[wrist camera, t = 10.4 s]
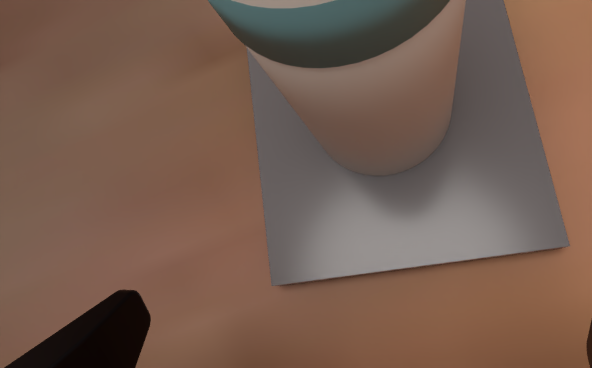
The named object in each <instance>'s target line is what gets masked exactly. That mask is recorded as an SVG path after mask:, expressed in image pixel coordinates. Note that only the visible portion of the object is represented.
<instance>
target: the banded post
mask: <svg viewBox="0 0 592 368" xmlns="http://www.w3.org/2000/svg"><path fill="white" fill-rule="evenodd" d="M208 1H209V3H210V4H211V5H212V7H213V8H214V9H215V10H216V12H217V13H218V14H219V16H220V17H221V18H222V20H223V21H224V22H225V23H226V25H227V26H228V27H229V29H230V30H231V31H232V32H233V34H234V35H235V36H236V37H237V38H238V39H239V40H240V41H241V42H242V43H243V44H244V45H245V46H246V47H247V48H248V50H249V51H250V52H251V54H252V55H253V56H254V58H255V59H256V60H257V62H258V63H259V64H260V66H261V67H262V68H263V70H264V71H265V72H266V73H267V75H268V76H269V77H270V79H271V80H272V81H273V83H274V84H275V85H276V87H277V88H278V89H279V91H280V92H281V93H282V95H283V96H284V97H285V98H286V100H287V101H288V102H289V104H290V105H291V106H292V108H293V109H294V110H295V112H296V113H297V114H298V116H299V117H300V118H301V120H302V121H303V122H304V123H305V125H306V126H307V127H308V129H309V130H310V131H311V133H312V134H313V135H314V137H315V138H316V139H317V141H318V142H319V143H320V145H321V146H322V147H323V149H324V150H325V151H326V152H327V154H328V155H329V156H330V157H331V158H332V159H333V160H334V161H336V162H337V163H338V164H340V165H341V166H343V167H345V168H346V169H348V170H351V171H353V172H356V173H360V174H364V175H371V176H385V175H392V174H396V173H400V172H403V171H406V170H408V169H410V168H412V167H414V166H416V165H418V164H420V163H421V162H422V161H424V160H425V159H426V158H427V157H429V156H430V155H431V154H432V153H433V152H434V151H435V149H436V148H437V147H438V146H439V144H440V143H441V141H442V140H443V138H444V136H445V134H446V132H447V129H448V127H449V123H450V119H451V112H452V104H453V97H454V89H455V81H456V73H457V65H458V57H459V50H460V42H461V34H462V26H463V18H464V10H465V2H466V0H208Z"/></svg>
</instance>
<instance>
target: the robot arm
mask: <svg viewBox="0 0 592 368" xmlns="http://www.w3.org/2000/svg"><path fill="white" fill-rule="evenodd" d="M150 322H151V318H150V314H149V311H148V310H147V308H146V306H145V304H144V302H143V300H142V298H141V296H140V294H139V293H138V292H137V291H135V290H119V291H117V292H115V293H114V294H112V295H111V296H109V297H108V298H106V299H105V300H103V301H102V302H100V303H99V304H97V305H96V306H94V307H93V308H92V309H90V310H89V311H87V312H86V313H84V314H83V315H81V316H80V317H78V318H77V319H75V320H74V321H72V322H71V323H69V324H68V325H66V326H65V327H64V328H62V329H61V330H59V331H58V332H56V333H55V334H53V335H52V336H50V337H49V338H47V339H46V340H44V341H43V342H41V343H40V344H39V345H37V346H36V347H34V348H33V349H31V350H30V351H28V352H27V353H25V354H24V355H22V356H21V357H19V358H18V359H16V360H15V361H13V362H12V363H11V364H9V365H8V366H6V367H5V368H135V367H136V364H137V361H138V358H139V355H140V353H141V350H142V347H143V344H144V341H145V338H146V335H147V332H148V330H149V327H150ZM587 356H588V361H589V365H590V368H592V320H591V325H590V329H589V334H588V338H587Z"/></svg>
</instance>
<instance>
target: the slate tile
mask: <svg viewBox="0 0 592 368" xmlns="http://www.w3.org/2000/svg"><path fill="white" fill-rule="evenodd" d="M247 54H248V63H249V73H250V82H251V92H252V102H253V111H254V121H255V131H256V140H257V150H258V159H259V169H260V179H261V188H262V198H263V208H264V217H265V227H266V236H267V246H268V256H269V265H270V275H271V285H272V286H283V285H291V284H298V283H306V282H313V281H321V280H328V279H336V278H343V277H351V276H358V275H366V274H373V273H381V272H388V271H396V270H403V269H411V268H418V267H426V266H433V265H441V264H448V263H456V262H463V261H471V260H478V259H486V258H493V257H501V256H508V255H516V254H523V253H531V252H538V251H546V250H554V249H561V248H565V247H568V246H570V245H569V241H568V237H567V234H566V230H565V226H564V222H563V219H562V215H561V211H560V208H559V204H558V200H557V197H556V193H555V189H554V185H553V182H552V178H551V174H550V171H549V167H548V163H547V160H546V156H545V152H544V149H543V145H542V141H541V137H540V134H539V130H538V126H537V123H536V119H535V115H534V112H533V108H532V104H531V100H530V97H529V93H528V89H527V86H526V82H525V78H524V75H523V71H522V67H521V64H520V60H519V56H518V52H517V49H516V45H515V41H514V38H513V34H512V30H511V27H510V23H509V19H508V15H507V12H506V8H505V4H504V1H503V0H466V2H465V10H464V18H463V26H462V34H461V42H460V50H459V57H458V65H457V73H456V81H455V89H454V97H453V104H452V112H451V119H450V123H449V127H448V129H447V132H446V134H445V136H444V138H443V140H442V141H441V143H440V144H439V146H438V147H437V148H436V149H435V151H434V152H433V153H432V154H431V155H430V156H429V157H427V158H426V159H425V160H424V161H422V162H421V163H420V164H418V165H416V166H414V167H412V168H410V169H408V170H406V171H403V172H400V173H396V174H392V175H385V176H371V175H364V174H360V173H356V172H353V171H351V170H348V169H346V168H345V167H343V166H341V165H340V164H338V163H337V162H336V161H334V160H333V159H332V158H331V157H330V156H329V155H328V154H327V152H326V151H325V150H324V149H323V147H322V146H321V145H320V143H319V142H318V141H317V139H316V138H315V137H314V135H313V134H312V133H311V131H310V130H309V129H308V127H307V126H306V125H305V123H304V122H303V121H302V120H301V118H300V117H299V116H298V114H297V113H296V112H295V110H294V109H293V108H292V106H291V105H290V104H289V102H288V101H287V100H286V98H285V97H284V96H283V95H282V93H281V92H280V91H279V89H278V88H277V87H276V85H275V84H274V83H273V81H272V80H271V79H270V77H269V76H268V75H267V73H266V72H265V71H264V70H263V68H262V67H261V66H260V64H259V63H258V62H257V60H256V59H255V58H254V56H253V55H252V54H251V52H250V51H249V50H248V48H247Z"/></svg>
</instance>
